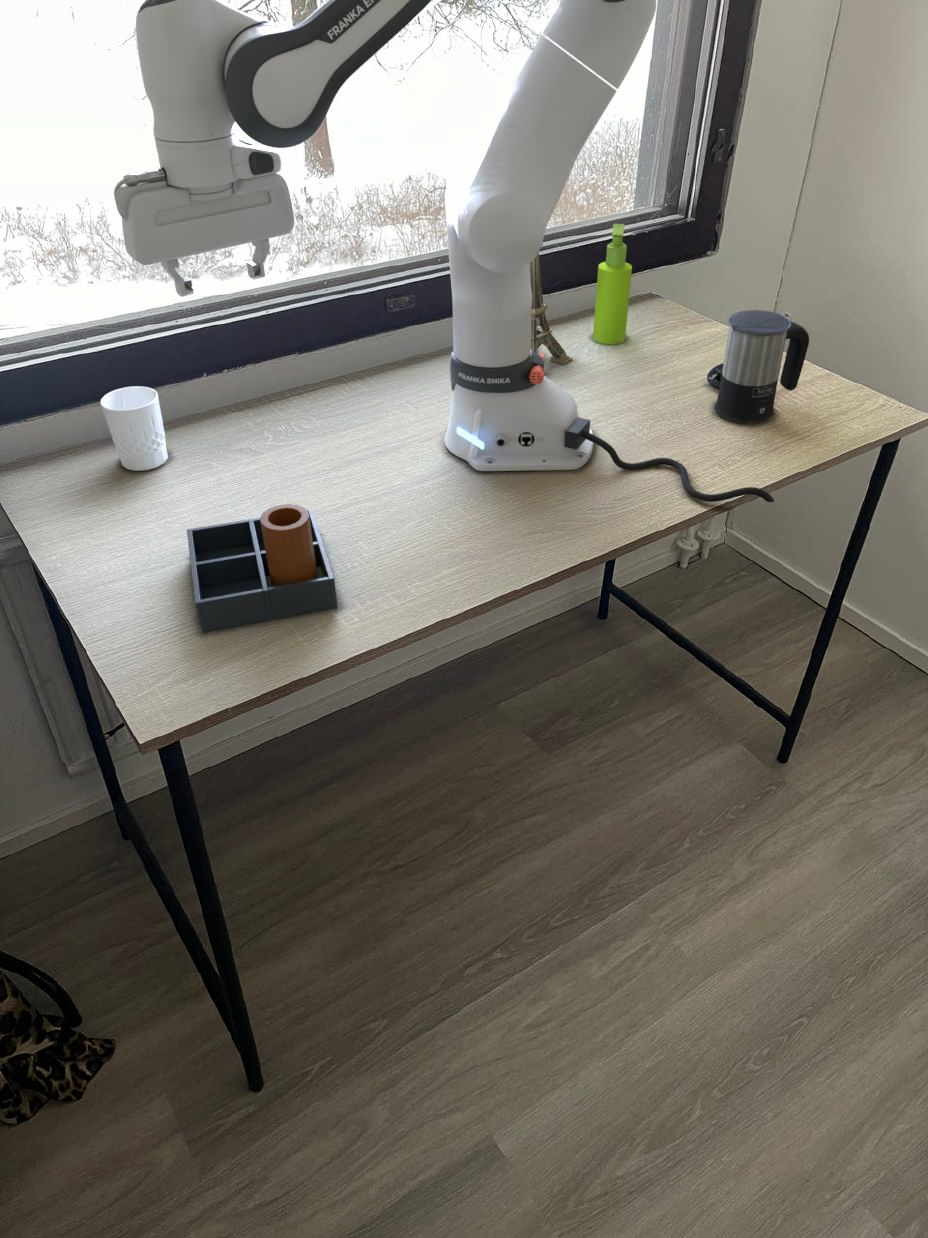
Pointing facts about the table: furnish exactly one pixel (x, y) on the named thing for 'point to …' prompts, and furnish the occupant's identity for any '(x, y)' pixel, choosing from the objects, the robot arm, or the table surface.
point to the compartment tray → (250, 577)
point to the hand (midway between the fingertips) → (221, 285)
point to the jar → (288, 544)
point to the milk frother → (757, 365)
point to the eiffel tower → (542, 318)
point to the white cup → (136, 427)
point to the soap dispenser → (612, 292)
